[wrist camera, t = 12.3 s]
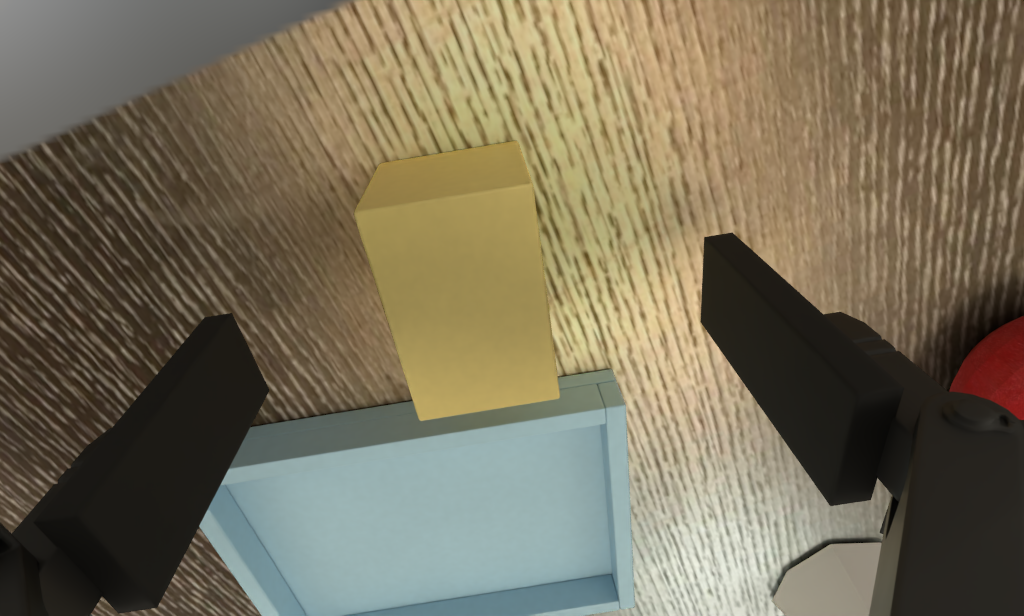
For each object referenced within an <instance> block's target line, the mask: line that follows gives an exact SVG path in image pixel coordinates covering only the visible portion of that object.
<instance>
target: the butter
mask: <svg viewBox="0 0 1024 616" xmlns="http://www.w3.org/2000/svg"><path fill="white" fill-rule="evenodd" d="M354 217H355V220H356V224H357V227H358V230H359V233H360V236H361V239H362V242H363V246H364V249H365V252H366V255H367V258H368V261H369V265H370V268H371V271H372V274H373V277H374V280H375V283H376V287H377V290H378V293H379V296H380V299H381V302H382V306H383V309H384V312H385V315H386V318H387V321H388V324H389V328H390V331H391V334H392V337H393V340H394V343H395V347H396V350H397V353H398V356H399V359H400V362H401V365H402V369H403V372H404V375H405V378H406V381H407V384H408V387H409V391H410V394H411V397H412V400H413V403H414V406H415V410H416V413H417V416H418V419H419V420H420V421H424V420H430V419H437V418H443V417H449V416H455V415H461V414H468V413H474V412H480V411H486V410H493V409H499V408H505V407H511V406H517V405H524V404H530V403H536V402H542V401H548V400H555V399H559V397H560V391H559V384H558V376H557V368H556V360H555V352H554V345H553V337H552V329H551V321H550V313H549V306H548V298H547V290H546V282H545V274H544V267H543V259H542V251H541V243H540V236H539V228H538V220H537V212H536V204H535V197H534V189H533V184H532V181H531V178H530V175H529V172H528V169H527V166H526V163H525V161H524V158H523V155H522V152H521V149H520V146H519V143H518V142H517V141H511V142H505V143H499V144H493V145H487V146H481V147H475V148H469V149H463V150H457V151H451V152H445V153H439V154H433V155H427V156H421V157H415V158H409V159H403V160H397V161H391V162H385V163H380V164H379V165H378V167H377V169H376V171H375V173H374V175H373V177H372V179H371V181H370V183H369V185H368V186H367V188H366V190H365V192H364V194H363V196H362V198H361V200H360V202H359V204H358V206H357V207H356V209H355V211H354Z"/></svg>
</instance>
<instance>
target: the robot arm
mask: <svg viewBox="0 0 1024 616" xmlns="http://www.w3.org/2000/svg"><path fill="white" fill-rule="evenodd" d="M701 323H702V325H703V326H704V327H705V329H706V330H707V332H708V333H709V335H710V336H711V337H712V339H713V340H714V342H715V343H716V344H717V346H718V347H719V349H720V350H721V352H722V353H723V354H724V356H725V357H726V359H727V360H728V361H729V363H730V364H731V366H732V367H733V369H734V370H735V371H736V373H737V374H738V376H739V377H740V378H741V380H742V381H743V383H744V384H745V386H746V387H747V388H748V390H749V391H750V393H751V394H752V395H753V397H754V398H755V400H756V401H757V403H758V404H759V405H760V407H761V408H762V410H763V411H764V412H765V414H766V415H767V417H768V418H769V420H770V421H771V422H772V424H773V425H774V427H775V428H776V429H777V431H778V432H779V434H780V435H781V437H782V438H783V439H784V441H785V442H786V444H787V445H788V446H789V448H790V449H791V451H792V452H793V454H794V455H795V456H796V458H797V459H798V461H799V462H800V463H801V465H802V466H803V468H804V469H805V471H806V472H807V473H808V475H809V476H810V478H811V479H812V481H813V482H814V483H815V485H816V486H817V488H818V489H819V490H820V492H821V493H822V495H823V496H824V498H825V499H826V500H827V502H828V503H829V505H830V506H834V505H840V504H847V503H854V502H860V501H867V500H871V497H872V494H873V491H874V487H875V484H876V481H877V477H878V479H879V480H880V481H881V482H882V483H883V485H884V486H885V487H886V488H887V489H888V490H889V492H890V493H891V494H892V497H891V500H890V503H889V506H888V509H887V512H886V515H885V518H884V521H883V524H882V527H881V530H880V533H882V534H883V539H882V545H881V550H880V556H879V561H878V567H877V573H876V578H875V584H874V589H873V595H872V601H871V606H870V612H869V616H1024V420H1019V419H1018V418H1017V417H1016V416H1015V415H1013V414H1012V413H1011V412H1010V411H1009V410H1008V409H1006V408H1004V407H1002V406H1001V405H999V404H997V403H995V402H993V401H991V400H988V399H985V398H982V397H979V396H976V395H973V394H967V393H960V392H948V391H946V390H945V389H944V388H943V387H942V386H940V385H939V384H938V383H937V382H936V381H934V380H933V379H932V378H931V377H930V376H928V375H927V374H926V373H925V372H924V371H922V370H921V369H920V368H919V367H917V366H916V365H915V364H914V363H913V362H911V361H910V360H909V359H908V358H907V357H905V356H904V355H903V354H902V353H901V352H899V351H897V352H896V350H895V348H894V347H893V346H892V345H891V344H890V343H888V342H887V341H886V340H885V339H884V340H882V338H881V336H880V335H879V334H878V333H876V332H875V331H874V330H873V329H872V328H870V327H869V326H868V325H867V324H865V323H864V322H862V321H860V320H857V319H855V318H853V317H851V316H849V315H846V314H844V313H842V312H836V313H830V314H824V315H823V314H822V313H821V312H820V311H819V310H818V309H817V308H815V307H814V306H813V305H812V304H811V303H810V302H809V301H808V300H807V299H805V298H804V297H803V296H802V295H801V294H800V293H799V292H798V291H797V290H795V289H794V288H793V287H792V286H791V285H790V284H789V283H788V282H787V281H786V280H784V279H783V278H782V277H781V276H780V275H779V274H778V273H777V272H776V271H774V270H773V269H772V268H771V267H770V266H769V265H768V264H767V263H766V262H764V261H763V260H762V259H761V258H760V257H759V256H758V255H757V254H756V253H754V252H753V251H752V250H751V249H750V248H749V247H748V246H747V245H746V244H744V243H743V242H742V241H741V240H740V239H739V238H738V237H737V236H736V235H734V234H733V233H727V234H721V235H715V236H709V237H704V258H703V281H702V304H701ZM268 392H269V388H268V386H267V384H266V382H265V380H264V378H263V376H262V374H261V372H260V370H259V368H258V366H257V363H256V361H255V359H254V357H253V355H252V353H251V351H250V349H249V347H248V345H247V343H246V341H245V339H244V337H243V335H242V333H241V331H240V329H239V327H238V325H237V323H236V321H235V319H234V316H233V314H232V313H230V314H223V315H217V316H211V317H205V318H204V319H203V320H202V321H201V323H200V324H199V325H198V326H197V327H196V329H195V330H194V331H193V332H192V333H191V335H190V336H189V337H188V338H187V339H186V340H185V342H184V343H183V344H182V345H181V346H180V348H179V349H178V350H177V351H176V352H175V354H174V355H173V356H172V357H171V358H170V360H169V361H168V362H167V363H166V364H165V366H164V367H163V368H162V369H161V370H160V372H159V373H158V374H157V375H156V376H155V377H154V379H153V380H152V381H151V382H150V383H149V385H148V386H147V387H146V388H145V389H144V391H143V392H142V393H141V394H140V395H139V397H138V398H137V399H136V400H135V401H134V403H133V404H132V405H131V406H130V407H129V409H128V410H127V411H126V412H125V413H124V414H123V416H122V417H121V418H120V419H119V420H118V422H117V423H116V424H115V425H114V426H113V428H110V429H108V430H107V431H106V432H105V433H103V434H102V435H101V436H99V437H98V438H97V439H96V440H94V441H93V442H92V443H90V444H89V445H88V446H87V447H86V448H85V449H84V450H83V451H82V453H81V454H80V455H79V456H78V457H77V458H76V460H75V461H74V462H73V463H72V464H71V468H69V469H67V470H66V471H65V472H64V474H63V475H62V476H61V477H60V478H59V479H58V484H54V485H53V486H52V488H51V489H50V490H49V491H48V492H47V493H46V494H45V496H44V497H43V498H42V499H41V500H40V501H39V503H38V504H37V505H36V506H35V507H34V508H33V510H32V511H31V512H30V513H29V514H28V515H27V517H26V518H25V519H24V520H23V521H22V522H21V524H20V525H19V526H18V527H17V528H16V529H15V531H14V532H13V533H12V534H11V533H10V532H9V531H8V530H7V529H6V528H5V527H4V526H3V525H2V524H1V523H0V616H92V615H91V613H92V611H93V610H94V608H95V606H96V605H97V603H98V602H99V600H100V598H101V597H102V596H103V597H104V598H105V599H106V600H107V602H108V603H109V604H110V605H111V606H112V607H113V608H114V609H115V610H116V611H117V612H118V613H125V612H131V611H138V610H145V609H151V608H157V607H158V605H159V603H160V601H161V599H162V597H163V595H164V593H165V591H166V589H167V587H168V585H169V583H170V581H171V580H172V578H173V576H174V574H175V572H176V570H177V568H178V566H179V564H180V562H181V560H182V558H183V556H184V554H185V552H186V551H187V549H188V547H189V545H190V543H191V541H192V539H193V537H194V535H195V533H196V531H197V529H198V527H199V525H200V524H201V522H202V520H203V518H204V516H205V514H206V512H207V510H208V508H209V506H210V504H211V502H212V500H213V498H214V496H215V495H216V493H217V491H218V489H219V487H220V485H221V483H222V481H223V479H224V477H225V475H226V473H227V471H228V469H229V467H230V466H231V464H232V462H233V460H234V458H235V456H236V454H237V452H238V450H239V448H240V446H241V444H242V442H243V440H244V438H245V437H246V435H247V433H248V431H249V429H250V427H251V425H252V423H253V421H254V419H255V417H256V415H257V413H258V411H259V409H260V408H261V406H262V404H263V402H264V400H265V398H266V396H267V394H268Z"/></svg>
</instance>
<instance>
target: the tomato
mask: <svg viewBox="0 0 1024 616" xmlns="http://www.w3.org/2000/svg"><path fill="white" fill-rule="evenodd" d="M949 392H960V393H967V394H973V395H976V396H979V397H982V398H985V399H988V400H991V401H993V402H995V403H997V404H999V405H1001V406H1002V407H1004V408H1006V409H1008V410H1009V411H1010V412H1011V413H1012V414H1013V415H1015V416H1016V417H1017V418H1018V419H1019V420H1024V316H1022V317H1019V318H1017V319H1015V320H1013V321H1010V322H1008V323H1006V324H1004V325H1002V326H1001V327H999V328H998V329H996V330H994V331H993V332H991V333H990V334H989V335H987V336H986V337H985V338H984V339H982V340H981V341H980V342H979V343H978V344H977V345H976V346H975V347H974V348H973V349H972V350H971V351H970V353H969V354H968V355H967V357H966V358H965V359H964V361H963V363H962V365H961V367H960V369H959V371H958V373H957V375H956V376H955V378H954V380H953V382H952V384H951V387H950V391H949Z"/></svg>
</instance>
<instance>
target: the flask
mask: <svg viewBox="0 0 1024 616" xmlns="http://www.w3.org/2000/svg"><path fill="white" fill-rule="evenodd" d="M881 545H882V543H850V544H830V545H828V546H827V547H825V548H824V549H822V550H820V551H819V552H817V553H816V554H814V555H812V556H811V557H809V558H807V559H806V560H804V561H803V562H801V563H799V564H798V565H796V566H795V567H793V568H791V569H790V570H788V571H787V572H786V574H785V576H784V578H783V580H782V582H781V584H780V586H779V588H778V590H777V592H776V594H775V596H774V598H773V599H772V602H773V603H774V604H775V605H776V606H777V607H778V608H779V609H780V610H781V611H782V612H783V613H784V614H785V615H786V616H869V612H870V606H871V601H872V595H873V589H874V584H875V578H876V573H877V567H878V561H879V556H880V550H881Z"/></svg>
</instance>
